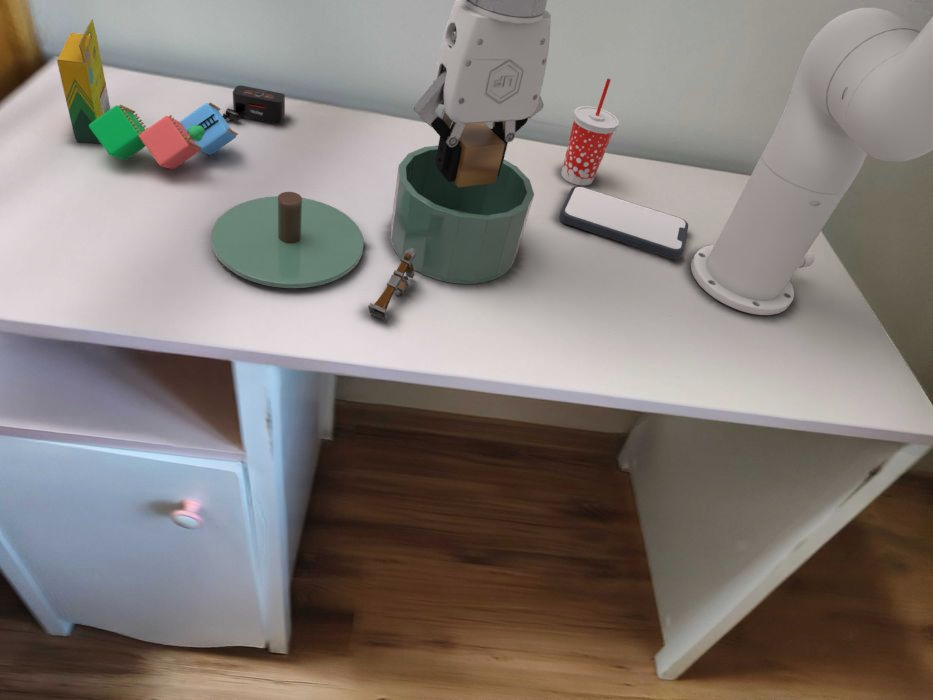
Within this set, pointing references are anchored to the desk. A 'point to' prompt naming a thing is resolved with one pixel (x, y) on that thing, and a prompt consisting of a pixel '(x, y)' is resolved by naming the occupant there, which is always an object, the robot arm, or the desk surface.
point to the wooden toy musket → (394, 285)
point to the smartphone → (625, 222)
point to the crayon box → (83, 82)
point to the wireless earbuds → (256, 105)
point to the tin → (458, 220)
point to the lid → (287, 241)
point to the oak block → (478, 155)
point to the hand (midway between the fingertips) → (467, 170)
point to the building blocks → (163, 134)
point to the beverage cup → (588, 142)
